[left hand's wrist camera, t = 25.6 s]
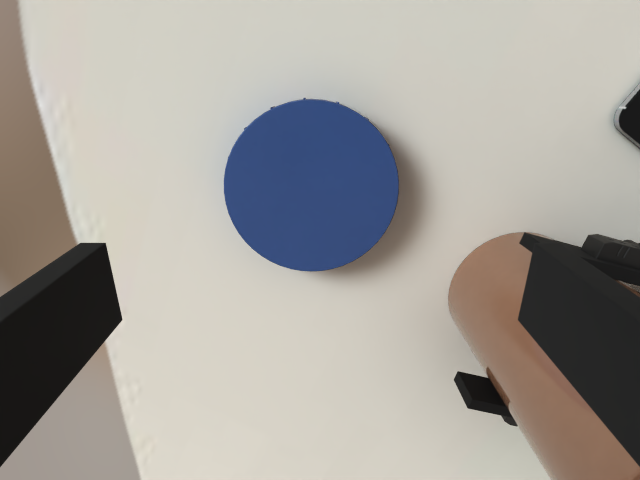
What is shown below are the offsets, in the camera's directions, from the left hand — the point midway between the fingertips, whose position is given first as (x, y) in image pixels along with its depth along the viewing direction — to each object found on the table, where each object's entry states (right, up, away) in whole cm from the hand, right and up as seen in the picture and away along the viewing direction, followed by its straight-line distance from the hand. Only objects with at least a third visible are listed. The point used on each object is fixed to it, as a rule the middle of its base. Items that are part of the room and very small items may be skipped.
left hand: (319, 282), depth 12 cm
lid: (0, +5, +13) cm, 14 cm away
